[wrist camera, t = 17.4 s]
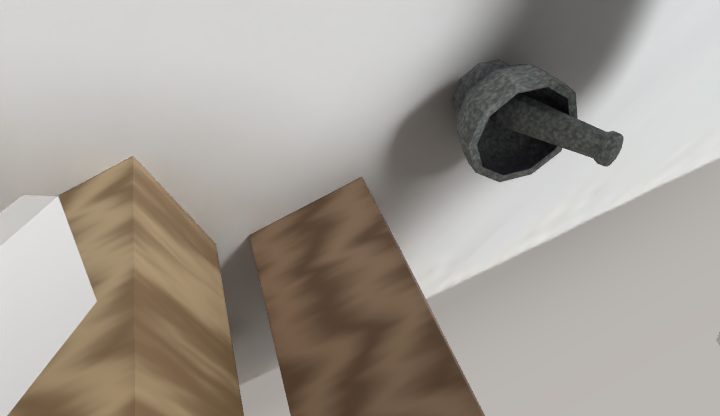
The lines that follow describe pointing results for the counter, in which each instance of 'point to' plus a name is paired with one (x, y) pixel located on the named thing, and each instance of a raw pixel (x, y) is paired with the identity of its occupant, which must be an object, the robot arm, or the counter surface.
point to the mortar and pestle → (522, 121)
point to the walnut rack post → (353, 316)
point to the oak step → (140, 310)
